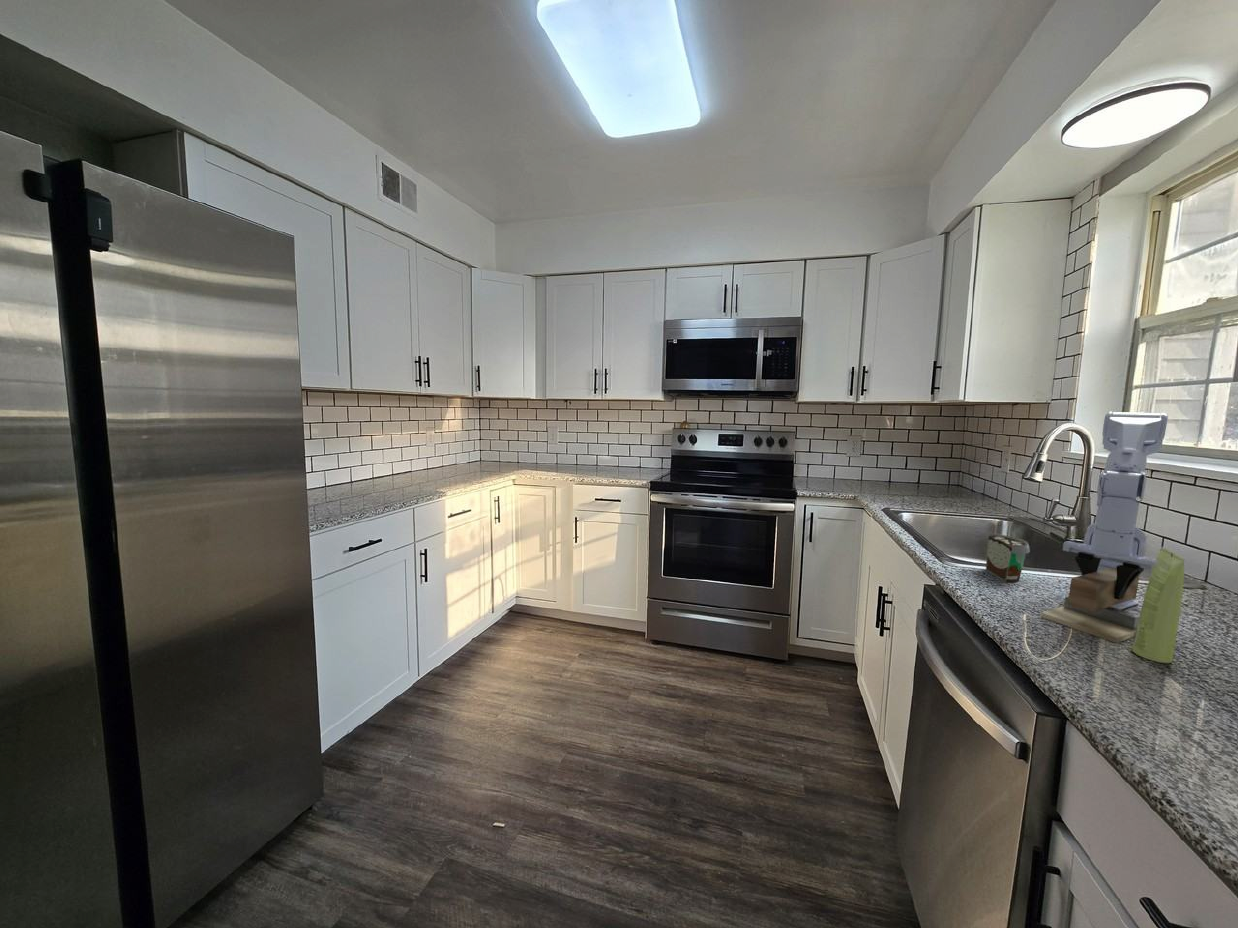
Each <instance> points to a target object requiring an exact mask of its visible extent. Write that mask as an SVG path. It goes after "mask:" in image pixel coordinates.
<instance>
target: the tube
mask: <svg viewBox="0 0 1238 928" xmlns="http://www.w3.org/2000/svg"><path fill="white" fill-rule="evenodd" d="M1155 560H1156V562H1155V565H1154V568H1153V571H1151V575H1150V578H1149V580H1148V584H1147V587H1146V591H1145V595H1144V597H1143V601H1142V604H1141V605H1142V606H1141V609H1140V613H1139V615H1140V616H1139V620H1138V625H1137V629H1136V633H1135V636H1134V637H1133V638H1134V639H1133V642H1132V647H1131V651H1132V652H1133V653H1135V654H1136V655H1137V656H1140V658H1143V659H1146V660H1149V661H1152V662H1157V663H1161V664H1162V663H1163V664H1169V663H1172V662H1173V658H1174V654H1175V647H1176V642H1177V641H1176V640H1177V636H1178V629H1179V623H1180V615H1181V609H1182V608H1181V607H1182V599H1183V590H1184V579H1185V577H1184V576H1185V563H1184V562H1185V558H1184V557H1182V556H1180V555H1179V554H1175V552H1172V551H1170V550H1168V549H1167V548H1165V547H1163V546H1161V547H1160V551H1159V552H1158V554H1157V557H1156V559H1155Z"/></svg>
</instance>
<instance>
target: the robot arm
mask: <svg viewBox="0 0 1238 928" xmlns="http://www.w3.org/2000/svg"><path fill="white" fill-rule="evenodd" d="M1168 419H1169V415H1168V414H1166V412H1161V413H1157V412H1156V413H1153V412H1152V413H1150V412H1119V411H1118V412H1116V411H1115V412H1113V411H1108V412H1107V413H1105V415H1104V421H1103V425H1102V445H1103V449H1104V450H1106V451H1108V452H1110V453H1109V454H1108V455H1107V459H1106V463H1105V467H1104V470H1103V472H1100V474H1099V477H1098V483H1097V487H1096V494H1097V500H1096V507H1097V509H1096V515H1095V522H1094V523H1091V524H1089V526H1087V528H1086V533H1085V534H1084V537H1083V538H1084V539H1083V543H1081V542H1075V541H1071V540H1068V541H1064V542H1063V546H1062V551H1063V552H1064V551H1065V552H1068V553H1071V552H1072V553H1074V554H1075V553H1076V554H1077V555H1076V556H1074V560H1075V562H1076V564H1077V566H1078V569H1080V573H1081V575H1086V574H1090V573H1094V572H1098V571H1102V570H1106V569H1110V568H1114V567H1115V568H1116V569H1117V583H1116V588H1115V592H1114V599H1118V600H1120V599H1123V597H1124V595H1125V593H1126V591H1127V589H1128V587H1129V586H1130V584H1131V583H1132V582H1133V581H1134V580H1135V578H1136V577H1137V576H1138V575H1139V574H1140V575H1141V574H1142V572H1144V570H1149V571H1150V572H1152V571H1153V568H1154V565H1155V562H1156V559H1154V558H1150V557H1147V556H1145V554H1146V548H1147V537H1148V536H1147V534H1146V532H1145V531H1143V530H1142V529H1141V528H1139V527H1137V526H1136V525H1137V518H1138V512H1139V508H1140V503H1142V501H1143V499H1144V496H1145V491H1146V490H1145V489H1146V484H1147V475H1146V466H1147V459H1148V458H1147V457H1148V456H1150V455H1153V454H1157V453H1160V449H1161V448H1162V447H1163V442H1164V439H1165V436H1166V431H1167V424H1168ZM1137 498H1139V499H1140V500H1139V501H1138V500H1137ZM1139 604H1140V601H1137V600H1136V599H1133V600H1130V601H1126V602H1123V603H1120V604H1117V605H1114V606H1110V607H1113V608H1116V609H1120V610H1124V609H1128V608H1130V607H1133V606H1136V605H1139Z"/></svg>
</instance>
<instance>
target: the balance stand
mask: <svg viewBox="0 0 1238 928" xmlns="http://www.w3.org/2000/svg"><path fill="white" fill-rule="evenodd" d="M1068 598H1069V595H1067V596H1065V599H1064V603H1063V605H1062V606H1060V607H1056V608H1052V609H1049V610H1045V611H1042V612H1041V613H1040V617H1041V618H1043V619H1046V620H1049V621H1051V622H1054V623H1057V624H1060V625H1064V626H1066V627H1068V628H1072V629H1074V630H1077V631H1080V632H1083V633H1086V634H1090V635H1092V636H1095V637H1098V638H1101V639H1105V640H1106V641H1110V642H1113V643H1115V644H1118V643H1121V642H1124V641H1127V640H1129V639H1132V638H1135V633H1136V629H1137V625H1138V620H1139V616H1140V614H1136V613H1133V612H1130V611H1126V610H1124V609H1121V610H1120V609H1116V608H1113V607H1107V608H1104V609H1101V610H1098V611H1094V612H1092V611H1089V610H1086V609H1082V608H1079V607H1076V606H1073V605H1069V604H1068Z"/></svg>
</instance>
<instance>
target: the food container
mask: <svg viewBox="0 0 1238 928" xmlns="http://www.w3.org/2000/svg"><path fill="white" fill-rule="evenodd" d="M986 541H987V545H986V546H987V548H986V564H985V570H986V571H987V572H989V573H990V574H992V575H994V576H995V577H996V578H998V579H1000V580H1002V581H1003V582H1005V583H1017V582H1019V581H1020V579H1021V575H1022V571H1023V566H1024V563H1025V558H1026V554H1029V553H1030V552H1031V551H1030V550H1031V549H1030V545H1029V543H1028V541H1026V540H1025V539H1020V538H1018V537H1015V536H1010V535H1005V534H998V533H987V537H986Z"/></svg>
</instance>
